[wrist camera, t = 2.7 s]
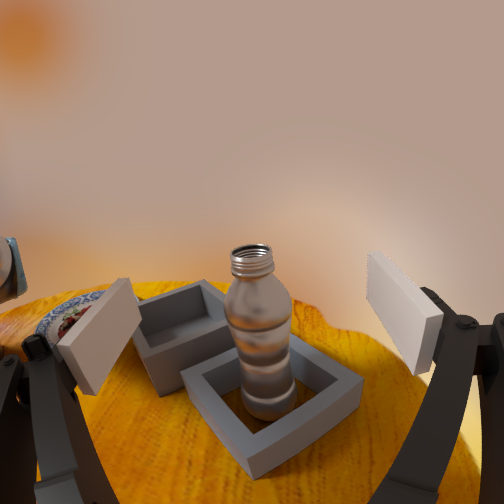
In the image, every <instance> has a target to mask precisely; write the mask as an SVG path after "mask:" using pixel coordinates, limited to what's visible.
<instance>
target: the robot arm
mask: <svg viewBox="0 0 504 504" xmlns="http://www.w3.org/2000/svg"><path fill="white" fill-rule="evenodd" d="M26 291H27V282H26V278H25V274H24V270H23V267H22V262H21V258H20V254H19V250H18V246H17V242H16V239H15V238H13V237H12V238H5V239H4V238H3V237H2V236H1V235H0V304H1V303H4V302H6V301H9V300H11V299H15V298H18V296H20V295H22V294H24V293H25V292H26ZM366 298H367V300H368V302H369V303H370V305H371V306H372V308H373V309H374V311H375V312H376V314H377V316H378V317H379V319H380V321H381V322H382V324H383V325H384V327H385V329H386V330H387V332H388V334H389V335H390V337H391V339H392V340H393V342H394V344H395V345H396V347H397V349H398V350H399V352H400V354H401V355H402V357H403V359H404V361H405V362H406V364H407V366H408V368H409V369H410V371H411V373H412V375H413V376H415V375H418V374H422V373H425V372H429V370H430V367H431V364H432V360H433V361H434V363H435V364H436V367H435V370H434V373H433V376H432V378H431V381H430V384H429V386H428V389H427V392H426V394H425V397H424V399H423V402H422V404H421V407H420V409H419V411H418V414H417V416H416V418H415V420H414V422H413V425H412V427H411V429H410V431H409V433H408V435H407V437H406V439H405V441H404V443H403V445H402V447H401V449H400V451H399V453H398V455H397V457H396V459H395V460H394V462H393V464H392V466H391V468H390V469H389V471H388V473H387V474H386V476H385V477H384V479H383V480H382V482H381V483H380V485H379V487H378V488H377V490H376V491H375V493H374V494H373V496H372V497H371V499H370V500H369V502H368V503H367V504H436V502H437V499H438V495H439V494H438V492H437V491H438V488H439V485H440V483H441V480H442V478H443V476H444V473H445V471H446V468H447V465H448V463H449V460H450V457H451V455H452V452H453V449H454V446H455V443H456V440H457V437H458V433H459V430H460V427H461V423H462V420H463V416H464V412H465V408H466V404H467V400H468V395H469V391H470V387H471V382H472V376H473V375H477V379H478V387H479V397H480V409H481V426H482V465H481V466H482V467H481V483H480V494H479V503H478V504H504V313H499V314H497V315H496V316H495V318H494V321H493V324H492V325H479V323H478V322H477V320H476V319H474V318H473V317H471V316H467V315H457V314H456V313H455V312H454V311H453V310H452V309H451V308H450V307H449V306H448V305H447V304H446V303H445V302H444V301H443V300H442V299H441V298H439V296H438V295H437V294H436V293H435V292H434V291H432V290H430V289H428V288H426V287H421V288H419V287H418V286H417V285H416V284H415V283H414V282H413V281H412V280H411V279H410V278H409V277H408V276H406V274H405V273H404V272H403V271H402V270H400V269H399V268H398V267H397V266H396V265H395V264H394V263H393V262H392V261H391V260H390V259H389V258H388V257H387V256H386V255H385V254H384V253H383V252H381V251H374V252H368V265H367V294H366ZM141 320H142V317H141V314H140V311H139V308H138V305H137V302H136V299H135V296H134V292H133V289H132V286H131V282H130V279H129V278H119V279H117V280H116V281H115V282H114V283H113V284H112V285H111V286H110V287H109V288H108V289H107V290H106V291H105V292H104V293H103V294H102V296H101V297H100V298H99V299H98V300H97V301H96V302H95V303H94V304H93V305H92V306H91V307H90V308H89V309H88V310H87V311H86V312H85V314H84V315H83V316H82V317H81V318H80V319H79V320H78V321H77V322H76V323H75V324H73V325H72V326H71V327H70V328H69V329H68V331H67V332H66V333H65V334H64V335H63V337H61V338H60V340H59V341H58V342H57V343H56V344H55V345H54V346H53V348H52V349H51V347H50V345H49V343H48V341H47V339H46V337H45V335H44V334H43V333H36V334H33V335H31V336H29V337H27V338H26V339H25V340H24V341H23V342H22V344H21V346H22V348H23V350H24V352H25V354H26V356H27V358H28V360H29V361H28V362H22V361H21V359H20V358H19V356H18V354H10V355H6V356H5V357H4V358H3V359H2V357H3V354H4V351H3V348H2V346H1V344H0V504H36V500H37V504H120V503H119V501H118V499H117V497H116V495H115V493H114V491H113V489H112V487H111V485H110V483H109V481H108V479H107V476H106V474H105V472H104V470H103V467H102V465H101V463H100V460H99V458H98V455H97V453H96V450H95V447H94V445H93V442H92V439H91V437H90V434H89V431H88V428H87V425H86V422H85V419H84V416H83V413H82V410H81V406H80V403H79V399H78V396H77V394H76V392H75V391H74V389H75V387H76V385H78V386H79V388H80V390H81V391H82V393H83V394H87V395H94V396H96V395H97V393H98V391H99V390H100V388H101V386H102V384H103V383H104V381H105V379H106V378H107V376H108V374H109V372H110V371H111V369H112V367H113V366H114V364H115V362H116V361H117V359H118V357H119V356H120V354H121V352H122V351H123V349H124V347H125V346H126V344H127V343H128V341H129V339H130V338H131V336H132V334H133V333H134V331H135V330H136V328H137V326H138V325H139V323H140V322H141ZM16 396H17V397H18V399H19V402H18V400H17V397H16ZM37 459H38V465H39V470H40V475H41V481H38V482H36V474H37Z"/></svg>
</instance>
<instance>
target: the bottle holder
mask: <svg viewBox="0 0 504 504" xmlns="http://www.w3.org/2000/svg"><path fill="white" fill-rule="evenodd" d="M289 350H290V362H291V368H292V373H293V377H295V378H296V379H297V380H299V381H300V382H301V383H303V384H304V385H305V386H307V387H308V388H309V389H311V390H312V391H313V392H315V393H316V394H318V395H316V396H315V397H313V398H312V399H310V400H309V401H307V402H306V403H304V404H303V405H301V406H300V407H298V408H297V409H295V410H294V411H292V412H290V413H289V414H287V415H286V416H284V417H283V418H281V419H279V420H278V421H276V422H274V423H273V424H271V425H269V426H268V427H266V428H264V429H262V430H261V431H259V432H257V433H255V434H254V435H253V434H252V433H251V432H250V430H249V429H248V428H247V427H246V426H245V425H244V424H243V423H242V422H241V421H240V419H239V418H238V417H237V416H236V415H235V414H234V413H233V412H232V410H231V409H230V408H229V407H228V406H227V405H226V404H225V402H224V401H223V400H222V399H221V398H220V397H221V396H223V395H225V394H227V393H229V392H231V391H233V390H235V389H237V388H239V387H241V370H240V361H239V357H238V354H237V350H236V347H235V348H233V349H230V350H228V351H226V352H224V353H222V354H219V355H217V356H215V357H213V358H211V359H208V360H206V361H204V362H201V363H199V364H197V365H195V366H192V367H190V368H187V369H185V370H183V371H180V374H181V376H182V379H183V382H184V385H185V387H186V390H187V393H188V395H189V398H190V400H191V401H192V403H193V404H194V405H195V407H196V408H197V410H198V411H199V413H200V414H201V415H202V417H203V418H204V419H205V421H206V422H207V424H208V425H209V426H210V428H211V429H212V430H213V432H214V433H215V434H216V436H217V437H218V438H219V439H220V441H221V442H222V443H223V445H224V446H225V447H226V448H227V450H228V451H229V452H230V453H231V454H232V456H233V457H234V458H235V459H236V461H237V462H238V463H239V464H240V465H241V467H242V468H243V469H244V470H245V471H246V472H247V474H248V475H249V476H250V477H251V478H252V479H253V480H255V479H257V478H259V477H261V476H262V475H264V474H266V473H267V472H269V471H271V470H272V469H274V468H276V467H277V466H279V465H280V464H282V463H284V462H285V461H287V460H288V459H290V458H291V457H293V456H294V455H296V454H297V453H299V452H300V451H302V450H303V449H305V448H306V447H308V446H309V445H310V444H312V443H313V442H315V441H316V440H317V439H319V438H320V437H321V436H323V435H324V434H325V433H327V432H328V431H329V430H331V429H332V428H333V427H335V426H336V425H337V424H338V423H340V422H341V421H342V420H343V419H345V418H346V417H347V416H348V415H350V414H351V413H352V412H353V411H354V410H356V409H357V408H358V407H359V405H360V399H361V394H362V388H363V383H364V378H363V377H362V376H360V375H358V374H357V373H355V372H353V371H351V370H350V369H348V368H346V367H345V366H343V365H341V364H340V363H338V362H336V361H335V360H333V359H332V358H330V357H328V356H327V355H325V354H323V353H322V352H320V351H319V350H317V349H315V348H314V347H312V346H310V345H309V344H307V343H306V342H304V341H303V340H301V339H299V338H298V337H296V336H295V335H293V334H291V333H290V348H289Z"/></svg>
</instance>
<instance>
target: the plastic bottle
mask: <svg viewBox="0 0 504 504" xmlns="http://www.w3.org/2000/svg"><path fill="white" fill-rule="evenodd" d="M230 258H231V265H232V266H231V272H232V275H233V276H235V279H234V281H233V282H232V284H231V286H230V287H229V289H228V291H227V293H226V296H225V299H224V306H223V310H224V314H225V318H226V320H227V324H228V326H229V329H230V332H231V334H232V337H233V340H234V342H235V346H236V350H237V354H238V357H239V361H240V370H241V399H242V402H243V404H244V406H245V408H246V410H247V411H248V412H249V413H250V414H251V415H252V416H254V417H256V418H258V419H261V420H264V421H275V420H279V419H281V418H283V417H284V416H286V415H287V414H289V413H290V412H291V411H292V410H293V409H294V407H295V405H296V400H297V395H298V392H297V386H296V382H295V379H294V377H293V373H292V368H291V362H290V350H289V348H290V326H291V316H292V301H291V298H290V295H289V293H288V291H287V289H286V288H285V287H284V285H283V284H282V283H281V282H280V281H279V280H278V279H277V278H276V277H275V276H274V275H273V274H272V272H273V271H274V269H275V267H274V262H273V256H272V250H271V247H269V246H268V245H265V244H248V245H243V246H240V247H237V248H235V249H233V250H232V251H231V252H230Z"/></svg>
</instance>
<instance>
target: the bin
mask: <svg viewBox="0 0 504 504" xmlns="http://www.w3.org/2000/svg"><path fill="white" fill-rule="evenodd" d="M225 296H226V295H225V294H224V293H222V292H221V291H220V290H218V289H217V288H215V287H214V286H213V285H211V284H210V283H208V282H207V281H206V280H204V279H203V280H200V281H198V282H195V283H192V284H189V285H186V286H183V287H180V288H178V289H175V290H172V291H169V292H166V293H163V294H160V295H157V296H155V297H152V298H149V299H146V300H143V301H140V302H137V305H138V308H139V311H140V314H141V317H142V320H141V322H140V323H139V325H138V326H137V328H136V330H135V331H134V333H133V334H132V336H131V339H132V342H133V344H134V346H135V348H136V351H137V353H138V355H139V357H140V359H141V361H142V363H143V365H144V367H145V370H146V372H147V374H148V376H149V378H150V380H151V382H152V384H153V385H154V387H155V389H156V391H157V393H158V395H159V397H162V396H165V395H167V394H169V393H172V392H174V391H177V390H179V389H181V388H184V387H185V385H184V382H183V379H182V376H181V374H180V371H183V370H185V369H187V368H190V367H192V366H195V365H197V364H199V363H201V362H204V361H206V360H208V359H211V358H213V357H215V356H217V355H219V354H222V353H224V352H226V351H228V350H230V349H233V348H235V347H236V346H235V342H234V340H233V337H232V334H231V332H230V329H229V326H228V324H227V320H226V318H225V314H224V310H223V306H224V299H225Z"/></svg>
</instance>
